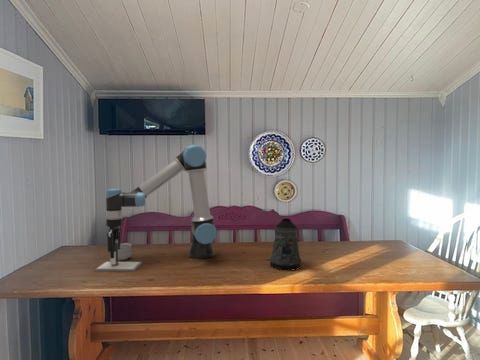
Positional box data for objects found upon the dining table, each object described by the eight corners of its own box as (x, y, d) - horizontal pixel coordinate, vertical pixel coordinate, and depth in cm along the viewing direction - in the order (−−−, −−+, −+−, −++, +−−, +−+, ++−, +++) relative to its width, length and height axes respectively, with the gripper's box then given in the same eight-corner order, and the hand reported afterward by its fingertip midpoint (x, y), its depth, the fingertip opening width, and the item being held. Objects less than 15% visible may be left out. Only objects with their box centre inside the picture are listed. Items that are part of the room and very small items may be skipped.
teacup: (125, 262, 192) (125, 247, 192) (107, 261, 195) (107, 246, 194) (137, 255, 206) (137, 242, 206) (120, 254, 208) (120, 241, 208)
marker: (119, 263, 185) (119, 239, 185) (117, 265, 181) (116, 240, 181) (112, 263, 185) (111, 239, 185) (109, 265, 181) (109, 240, 181)
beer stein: (274, 271, 176) (274, 222, 175) (265, 261, 195) (265, 216, 194) (305, 270, 179) (306, 221, 178) (293, 260, 198) (294, 216, 197)
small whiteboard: (142, 263, 190) (142, 261, 190) (134, 271, 176) (133, 269, 176) (105, 263, 190) (105, 261, 190) (94, 270, 176) (94, 268, 176)
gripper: (112, 216, 191) (113, 258, 192) (100, 220, 174) (100, 267, 175) (126, 216, 190) (126, 258, 191) (115, 221, 174) (115, 267, 175)
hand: (114, 262), depth 183 cm, fingers closed on marker, 4 cm apart
